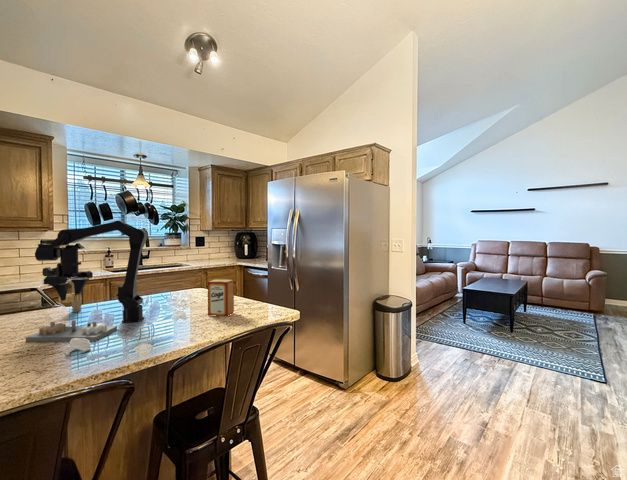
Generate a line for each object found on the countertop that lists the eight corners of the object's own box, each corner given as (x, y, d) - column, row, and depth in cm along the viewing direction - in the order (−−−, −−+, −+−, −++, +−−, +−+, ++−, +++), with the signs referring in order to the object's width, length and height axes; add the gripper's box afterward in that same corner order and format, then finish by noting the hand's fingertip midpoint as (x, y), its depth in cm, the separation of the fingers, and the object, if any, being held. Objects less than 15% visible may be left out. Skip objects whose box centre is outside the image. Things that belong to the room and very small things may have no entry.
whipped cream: (64, 353, 99) (62, 338, 99) (89, 346, 103) (87, 332, 103) (67, 359, 93) (64, 343, 93) (94, 351, 98) (91, 336, 98)
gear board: (117, 330, 119) (116, 316, 119) (95, 341, 107) (95, 325, 107) (54, 330, 118) (53, 316, 118) (25, 341, 106) (25, 325, 106)
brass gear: (85, 299, 129) (85, 293, 129) (72, 302, 122) (72, 296, 121) (68, 299, 128) (68, 293, 128) (54, 303, 121) (54, 296, 121)
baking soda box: (208, 315, 139) (207, 280, 139) (215, 312, 146) (215, 278, 145) (227, 317, 137) (227, 281, 137) (233, 313, 144) (233, 279, 143)
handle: (87, 309, 150) (86, 279, 149) (73, 313, 143) (73, 281, 143) (79, 309, 151) (78, 278, 150) (66, 312, 145) (65, 280, 144)
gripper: (67, 258, 134) (68, 293, 134) (28, 262, 115) (29, 303, 116) (93, 258, 134) (93, 293, 134) (58, 262, 115) (59, 303, 116)
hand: (70, 298), depth 125 cm, fingers closed on brass gear, 7 cm apart
